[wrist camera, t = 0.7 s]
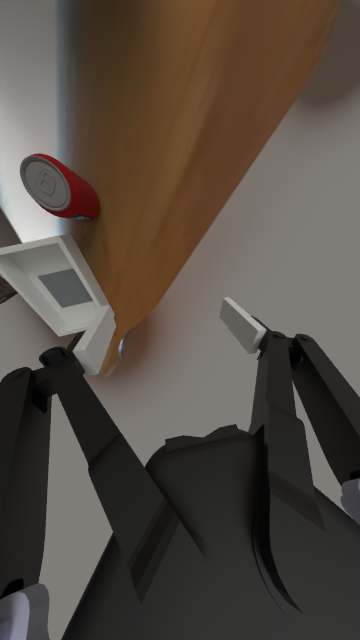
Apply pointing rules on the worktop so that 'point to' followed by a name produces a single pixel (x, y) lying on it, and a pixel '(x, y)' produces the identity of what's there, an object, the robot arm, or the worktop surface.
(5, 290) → the box
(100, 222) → the worktop surface
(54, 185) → the beverage can
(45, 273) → the tray
